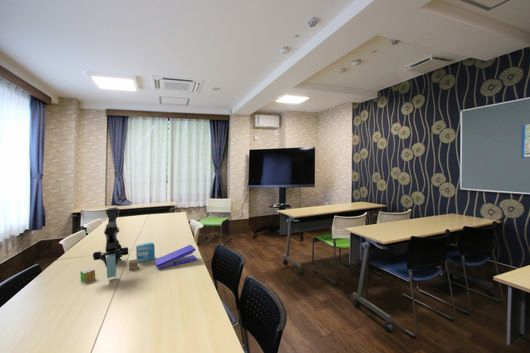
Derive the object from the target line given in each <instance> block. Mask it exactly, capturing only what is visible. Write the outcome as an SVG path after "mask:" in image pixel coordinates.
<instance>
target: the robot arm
mask: <svg viewBox="0 0 530 353" xmlns="http://www.w3.org/2000/svg"><path fill="white" fill-rule="evenodd" d="M119 214H120V208H118V207H117V206H116V207H108V208H107V209H105V215H107V218H108V219H107V220H108V221H107V222H108V223H107V224H106V225H105V228H104V232H103V233H104V235H105V238H106V241H105V242H106V243H105V252H102V251H101V250H100V251H94V252H93V253H92V258H93V260H94V261H98V260H99V261H102V262H103V263H104V265H105V267H106V268H107V260H106V257H107V255H109V254H115V256H116V262H115V263H116V266H117V265H118V263H119V261H121V260H122V257H123V256H128V255H129V247H128V246H126V247H122V245H121V244H120V241H119V240H118V238H117V236H118V235H117V234H118V233H120V228H119V227H118V224H117V219H118V217H119Z"/></svg>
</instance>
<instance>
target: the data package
mask: <svg viewBox="0 0 530 353" xmlns="http://www.w3.org/2000/svg"><path fill="white" fill-rule="evenodd" d="M135 247H136V248H135V250H136V252H135V254H136V259H137V263H142V262H148V261H149V262H150V261H153V260H155V258H156V251H155V243H154V242H147V243H145V242H144V243H140V244H139V243H138V244H137V245H136V246H135Z"/></svg>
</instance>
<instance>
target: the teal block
mask: <svg viewBox="0 0 530 353" xmlns="http://www.w3.org/2000/svg"><path fill="white" fill-rule="evenodd" d="M106 261H107V267H106V278H107V279H110V278H115V277H117V265H116V263H115V262H116V256H115V254H109V255H107V256H106Z"/></svg>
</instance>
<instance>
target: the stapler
mask: <svg viewBox="0 0 530 353" xmlns="http://www.w3.org/2000/svg"><path fill="white" fill-rule="evenodd" d="M195 251H196V248H195V247H194V246H193V245H192V244H189V245H187V246H186V245H185V246H184V247H181V248H180V249H177V250H174V251H172V252H170V253H167V254H165V255H162V256H160V257H158V258H156V259H155V258H154V263H155V266H156V268H157V270H158V271H159V270H163V269H167V268H171V267H175V266H179V265H185V264H188V262H189V263H192V261H193V262H196V260H197V261H199V260H198V258H197V257H196V255H194V252H195Z"/></svg>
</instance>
